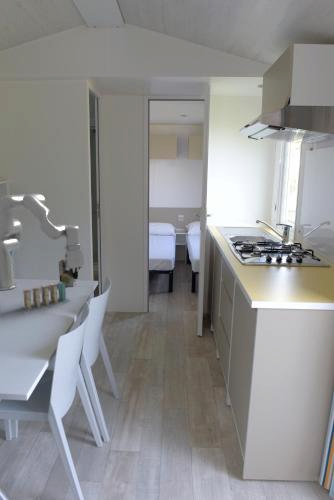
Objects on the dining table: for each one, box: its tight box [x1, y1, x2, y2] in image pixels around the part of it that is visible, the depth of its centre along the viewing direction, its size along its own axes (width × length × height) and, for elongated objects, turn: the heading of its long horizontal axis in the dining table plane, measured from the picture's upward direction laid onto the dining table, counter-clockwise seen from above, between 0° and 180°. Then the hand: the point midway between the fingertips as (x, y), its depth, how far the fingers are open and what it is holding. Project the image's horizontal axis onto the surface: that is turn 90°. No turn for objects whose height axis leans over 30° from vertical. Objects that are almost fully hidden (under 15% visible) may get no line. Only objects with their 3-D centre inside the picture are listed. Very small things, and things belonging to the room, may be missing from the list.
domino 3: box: [41, 284, 50, 305], centre depth 208 cm, size 5×2×10 cm, turn 42°
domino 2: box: [32, 286, 41, 307], centre depth 205 cm, size 5×2×10 cm, turn 42°
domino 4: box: [49, 282, 59, 303], centre depth 211 cm, size 5×2×10 cm, turn 42°
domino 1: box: [23, 288, 32, 310], centre depth 201 cm, size 5×2×10 cm, turn 42°
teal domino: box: [57, 281, 67, 301], centre depth 214 cm, size 5×2×10 cm, turn 41°
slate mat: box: [19, 297, 72, 313], centre depth 209 cm, size 9×26×1 cm, turn 132°
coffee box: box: [58, 259, 77, 287], centre depth 242 cm, size 9×6×16 cm
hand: (75, 278), depth 218 cm, fingers closed
